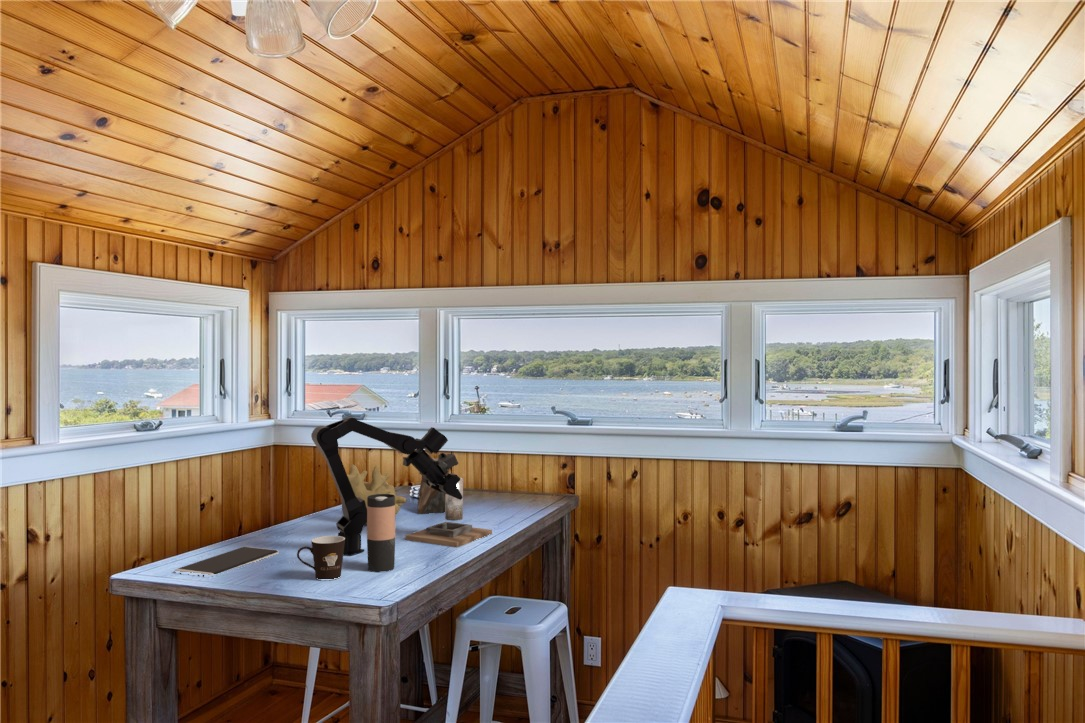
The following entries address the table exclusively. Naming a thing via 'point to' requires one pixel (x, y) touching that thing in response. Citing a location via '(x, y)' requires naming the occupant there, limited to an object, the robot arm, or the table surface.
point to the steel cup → (454, 504)
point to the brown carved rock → (430, 499)
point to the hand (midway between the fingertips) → (457, 497)
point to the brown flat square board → (448, 534)
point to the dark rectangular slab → (228, 560)
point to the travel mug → (381, 532)
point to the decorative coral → (373, 486)
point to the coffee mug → (326, 556)
